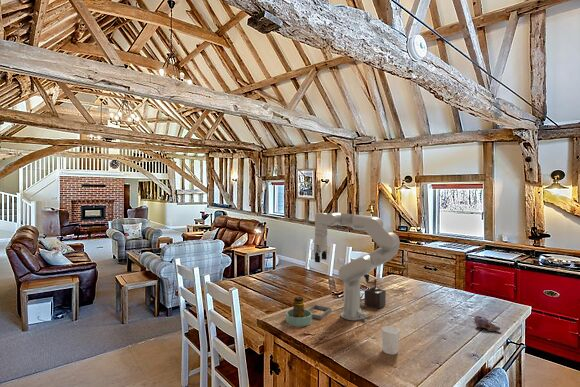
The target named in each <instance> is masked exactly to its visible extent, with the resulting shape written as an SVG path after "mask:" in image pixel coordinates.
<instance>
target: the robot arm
mask: <svg viewBox="0 0 580 387" xmlns="http://www.w3.org/2000/svg"><path fill="white" fill-rule="evenodd" d="M328 226H329V227H333V226H346V227H350V228H352V229H353V230H358V231H365V232H366V234H368V236H369V237H370V238H371V239H372V240H373V241H374V242H375V243H376V245H377V246H378V248H376V249H375V250H372V251H371V252H368V253H367V254H363V255H360V256H358V257H357V258H355V259H354V260H351V261H350V262H348V263H345V264H344V265H342V266H341V267H340V268H339V269H338V278H339V279H340V281H342V282H343V306H342V307H343V308H342V309H343V311H342V312H340V317H341V318H342V319H343V320H344V319H345V320H347V321H359V320H362V319H363V318H367V317H368V313H367V312H366V311H362V308H361V283H362V282H361V281H362V277H364V275H366V274H369V273H370V272H372V271H373V270H374V269H376V268H377V267H380V266H382V265H384V264H385V263H387V262H389V261H391V260H392V259H393V258H395V257H396V255H397V254H398V252H399V249H400V246H401V245H400V244H401V243H400V242H401V241H400V238H399V235H397V233H395V232H393V231H392V232H390V231H389V232H387V230H386V229H385V228H384V222H383V220H382V218H380V217H378V216H370V215H363V214H362V215H361V214H352V213H344V212H331V213H330V212H329V213H326V212H317V213H315V215H314V241H313V243H314V244H313V252H314V262H315V263H321V260H327V258H328V257H327V253H328V238H327V237H328Z"/></svg>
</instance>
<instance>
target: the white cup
mask: <svg viewBox="0 0 580 387" xmlns="http://www.w3.org/2000/svg"><path fill="white" fill-rule="evenodd" d="M381 344H382V351H383V353H385V354H386V355H396V354H398V353H399V344H400V329H399V328H397V327H396V326H393V325H384V326H381Z"/></svg>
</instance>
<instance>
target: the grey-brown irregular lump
mask: <svg viewBox="0 0 580 387" xmlns="http://www.w3.org/2000/svg"><path fill="white" fill-rule="evenodd" d="M473 320H474V321H473V322H474V324H475V326H476V327H477V328H484V329H487V331H488V332H489V331H490V332H495V331H500V330H501V327H500V326H498V325H496V324H494V323H493V322H491V321H490V320H489V319H488V318H486V317H484V316H481V315H476V316H474V317H473Z"/></svg>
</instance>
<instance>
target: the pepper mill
mask: <svg viewBox="0 0 580 387" xmlns="http://www.w3.org/2000/svg"><path fill="white" fill-rule="evenodd" d="M363 278H364V279H365V282H366V284H374V286H372V287H369V288H367V289H365V290H364V293H363V294H364V300H363V301H364V306H366V305H367V307H371V308H374V309H381V308H383V307H385V306H386V304H387V303H386V302H387V294H386V292H387V290H385V289H382V288H380V287H379V286H378V285H377V279H373V281H370V274H369V273H368V274H366V275H364V276H363Z"/></svg>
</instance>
